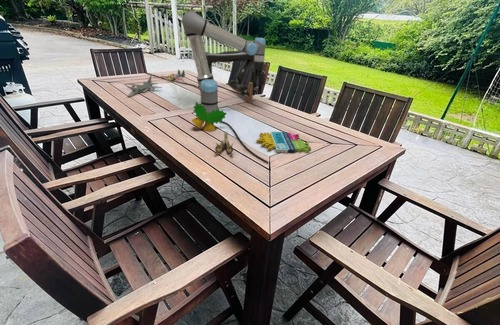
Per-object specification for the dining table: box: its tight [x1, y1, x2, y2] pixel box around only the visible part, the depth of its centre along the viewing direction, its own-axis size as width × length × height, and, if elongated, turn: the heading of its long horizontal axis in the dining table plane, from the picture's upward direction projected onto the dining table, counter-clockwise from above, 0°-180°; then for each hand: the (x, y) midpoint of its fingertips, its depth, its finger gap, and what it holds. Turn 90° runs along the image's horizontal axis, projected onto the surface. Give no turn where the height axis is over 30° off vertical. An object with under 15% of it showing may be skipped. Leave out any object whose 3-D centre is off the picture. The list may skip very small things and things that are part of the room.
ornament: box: [191, 102, 228, 132], centre depth 162 cm, size 21×8×15 cm, turn 105°
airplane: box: [126, 75, 163, 98], centre depth 227 cm, size 38×31×10 cm
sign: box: [256, 131, 312, 154], centre depth 152 cm, size 26×2×30 cm
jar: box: [246, 81, 254, 104], centre depth 218 cm, size 5×5×16 cm
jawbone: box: [214, 131, 234, 156], centre depth 136 cm, size 9×15×10 cm
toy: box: [160, 69, 186, 82], centre depth 279 cm, size 28×7×30 cm
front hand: (257, 93), depth 202 cm, fingers closed on lid, 5 cm apart
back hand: (251, 94), depth 217 cm, fingers closed on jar, 4 cm apart
